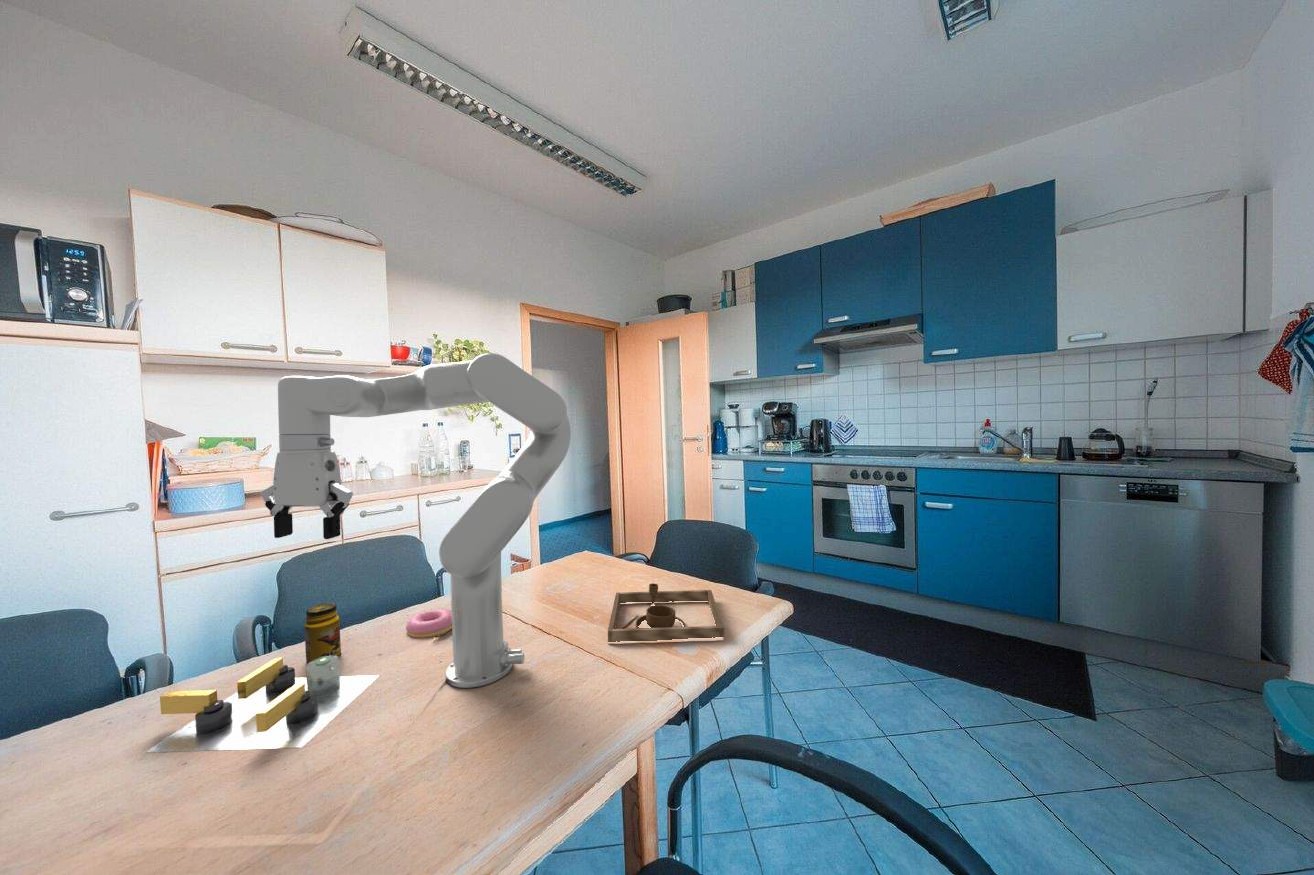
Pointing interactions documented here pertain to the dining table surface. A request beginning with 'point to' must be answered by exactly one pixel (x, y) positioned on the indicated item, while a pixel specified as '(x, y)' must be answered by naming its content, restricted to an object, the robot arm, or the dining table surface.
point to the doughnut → (430, 623)
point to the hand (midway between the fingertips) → (307, 536)
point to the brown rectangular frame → (666, 632)
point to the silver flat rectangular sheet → (284, 734)
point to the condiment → (322, 632)
